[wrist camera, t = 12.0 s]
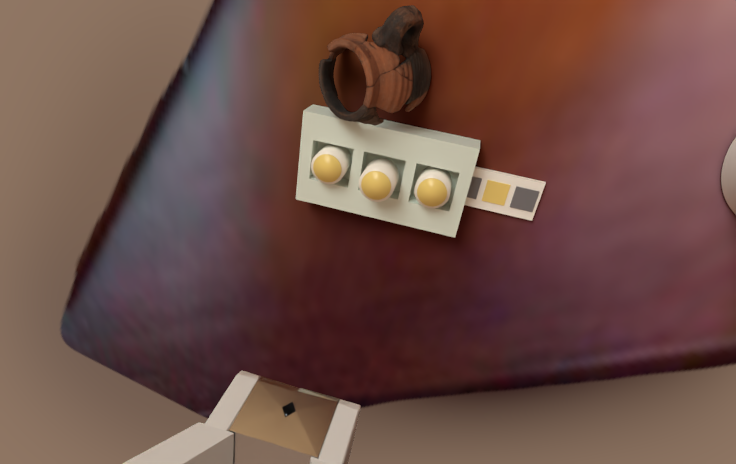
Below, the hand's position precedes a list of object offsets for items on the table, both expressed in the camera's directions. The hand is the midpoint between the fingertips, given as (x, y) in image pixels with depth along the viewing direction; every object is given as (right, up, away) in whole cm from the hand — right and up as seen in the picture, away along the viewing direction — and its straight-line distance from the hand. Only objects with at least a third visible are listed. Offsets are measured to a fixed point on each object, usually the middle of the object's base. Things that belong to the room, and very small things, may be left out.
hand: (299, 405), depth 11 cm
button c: (-2, +12, +40) cm, 42 cm away
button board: (+4, +11, +41) cm, 42 cm away
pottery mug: (+4, +21, +36) cm, 42 cm away
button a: (+9, +9, +39) cm, 41 cm away
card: (+15, +8, +39) cm, 43 cm away
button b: (+3, +10, +38) cm, 40 cm away
